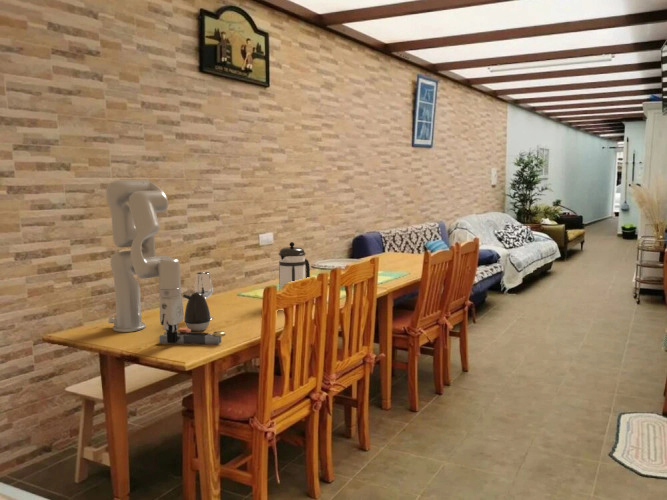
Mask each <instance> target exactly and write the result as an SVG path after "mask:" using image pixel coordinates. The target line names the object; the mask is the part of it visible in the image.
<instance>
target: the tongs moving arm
mask: <svg viewBox="0 0 667 500" xmlns="http://www.w3.org/2000/svg"><path fill="white" fill-rule="evenodd" d="M159 344H161V345H217V346H218V345H220V344H221V343H220V337H215V336H213V335H187V334H185V335H177V342H176V343H168V342H167V335H164V334H159Z"/></svg>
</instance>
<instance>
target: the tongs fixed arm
mask: <svg viewBox="0 0 667 500" xmlns="http://www.w3.org/2000/svg"><path fill="white" fill-rule="evenodd" d="M185 334H187V335H213V336H215V337H220V344H221V343H222V337H224V336H226V334H227V333H226V331H225V330H215V331H213V333H209V332H200V331H191V332H188V333H187V332H178V331H177V335H185ZM163 335H167V332H166V331H165V332H163Z"/></svg>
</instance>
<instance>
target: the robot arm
mask: <svg viewBox="0 0 667 500" xmlns="http://www.w3.org/2000/svg"><path fill="white" fill-rule="evenodd" d="M105 198H106V202H107V205H108V208H109V211H110V215H111V217H110V218H111V230H112V231H111V232H112V240H113V244H114V245H115V246H116V247H117V248H130V250H122V251H118V252H115V253H113V255H112V256H111V258H110V267H111V271H112V276H113V282H114V298H115V316H116V317H113V316H112V317H109V318H108V321H107V322H108V324H113V326H112V330H113V331H114V332H117V333H129V332H130V333H131V332H138V331H140V330H143V329H145V328H146V326H147V324H146V323H145V322H142V305H141V303H142V302H141V286H140V283H139V280H138V279H137V278H136V277H135V276H134V275H136V276H137V277H138V278H140V279H152V278H158V290H159V291H158V294H159V298H160V299H159V322H160V325H161V326H162V327H163V328H162V330H165V332H167V342H168V343H176V342H177V332H178V329H179V328H178V327H179V326H178V325H179V324H180V323H182V322H183V321H184V317H185V311H184V304H183V296H182V286H181V285H182V284H181V264H180V260H179V259H178V258H173V257H171V256H169V255H158V256H157V255H156V254H157V253H156V241H155V240H156V238H155V237H156V236H155V235H156V234H158V233H159V231H160V230H161V226H160V222H159V219H158V214H157V213H164V212H166V211H167V209H168V207H169V199H168V196H167V194H166V193H165V192H164V190H162V188H160V187H159V186H158V185H156V184H155V183H154V181H153V182H152V180H148V179H120V180H114V181H110V182H109V183H108V185H107V186H106V190H105Z"/></svg>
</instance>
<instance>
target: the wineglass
mask: <svg viewBox="0 0 667 500" xmlns="http://www.w3.org/2000/svg"><path fill="white" fill-rule="evenodd" d="M193 287H194V293H195V292H199V293H201V294H202V295H203V296H204V298H205V300H206V301H207V300H208V299H209V298H210V297H211V296H212V294H213V292H214V286H213V280H212V276H211V272H208V271H200V272H197V273H196V276H195V281H194V286H193ZM213 319H215V317H214V316H212V315H210V321H211V320H213Z"/></svg>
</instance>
